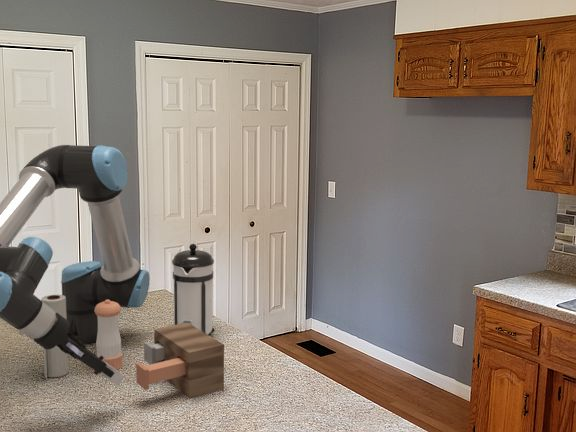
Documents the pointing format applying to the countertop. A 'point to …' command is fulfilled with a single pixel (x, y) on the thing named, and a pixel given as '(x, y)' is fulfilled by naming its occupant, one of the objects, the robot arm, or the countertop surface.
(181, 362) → the plug terracotta
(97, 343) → the salt shaker
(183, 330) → the block
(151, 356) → the plug grey
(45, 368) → the paper towel roll
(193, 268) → the coffee press
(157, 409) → the countertop surface
